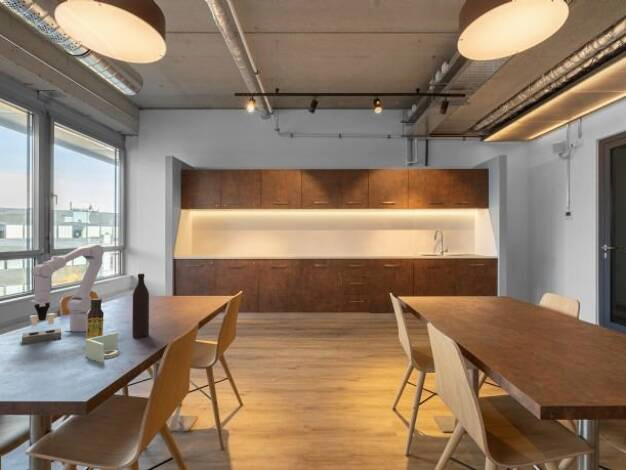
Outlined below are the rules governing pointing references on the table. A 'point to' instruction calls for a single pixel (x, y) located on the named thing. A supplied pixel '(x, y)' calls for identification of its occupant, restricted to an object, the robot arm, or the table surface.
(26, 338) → the grey slotted block
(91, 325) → the sauce bottle
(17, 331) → the table surface
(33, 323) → the clip
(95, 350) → the l-shaped corner panel
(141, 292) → the wine bottle
